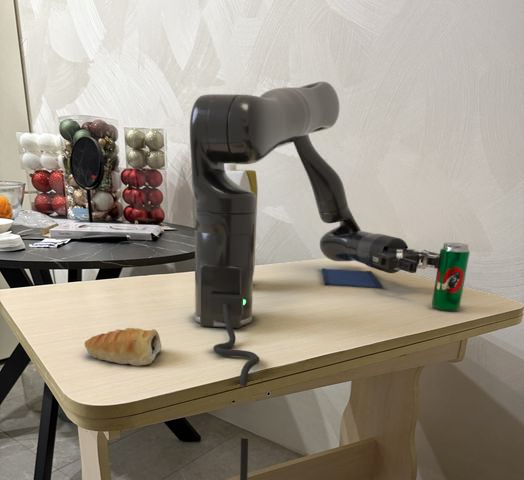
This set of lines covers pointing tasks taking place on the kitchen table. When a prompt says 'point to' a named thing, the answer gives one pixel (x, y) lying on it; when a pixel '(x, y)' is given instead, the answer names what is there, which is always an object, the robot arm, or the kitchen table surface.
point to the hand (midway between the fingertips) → (433, 266)
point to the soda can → (450, 276)
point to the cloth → (350, 278)
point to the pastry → (125, 346)
